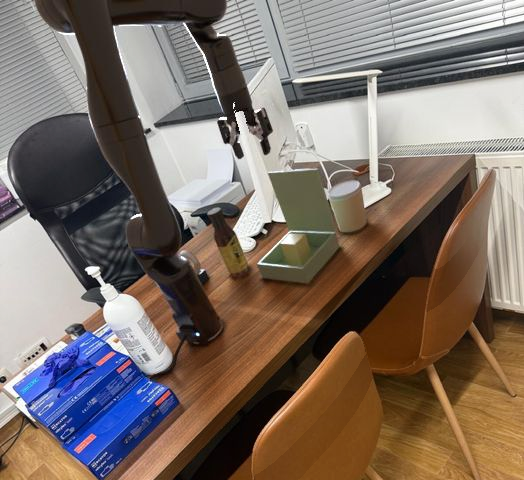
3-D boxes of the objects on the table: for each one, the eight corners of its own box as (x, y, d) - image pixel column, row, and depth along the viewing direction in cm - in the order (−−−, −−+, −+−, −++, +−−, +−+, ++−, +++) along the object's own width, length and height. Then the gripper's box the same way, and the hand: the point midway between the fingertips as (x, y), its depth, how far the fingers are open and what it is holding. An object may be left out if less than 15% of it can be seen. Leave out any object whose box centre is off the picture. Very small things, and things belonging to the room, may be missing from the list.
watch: (195, 276, 141) (179, 246, 135) (213, 278, 136) (197, 247, 130) (183, 287, 139) (167, 257, 132) (201, 289, 134) (185, 258, 127)
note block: (303, 268, 121) (295, 244, 117) (288, 266, 125) (280, 243, 120) (312, 257, 124) (305, 233, 119) (298, 256, 127) (290, 233, 122)
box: (308, 285, 116) (302, 268, 113) (263, 279, 126) (256, 264, 123) (340, 249, 124) (335, 232, 120) (295, 246, 134) (289, 230, 130)
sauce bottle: (248, 276, 130) (220, 214, 118) (228, 280, 132) (200, 220, 120) (252, 264, 135) (226, 203, 122) (233, 268, 137) (206, 208, 125)
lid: (316, 169, 109) (326, 159, 111) (267, 173, 119) (278, 163, 121) (334, 231, 120) (343, 220, 122) (288, 230, 130) (297, 220, 132)
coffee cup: (374, 217, 130) (366, 178, 122) (362, 235, 125) (352, 195, 118) (345, 219, 135) (335, 181, 128) (331, 236, 130) (321, 198, 123)
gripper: (200, 100, 109) (225, 165, 119) (246, 87, 101) (269, 159, 111) (217, 89, 114) (240, 153, 123) (263, 76, 105) (283, 145, 115)
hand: (254, 155), depth 117 cm, fingers open, 8 cm apart
